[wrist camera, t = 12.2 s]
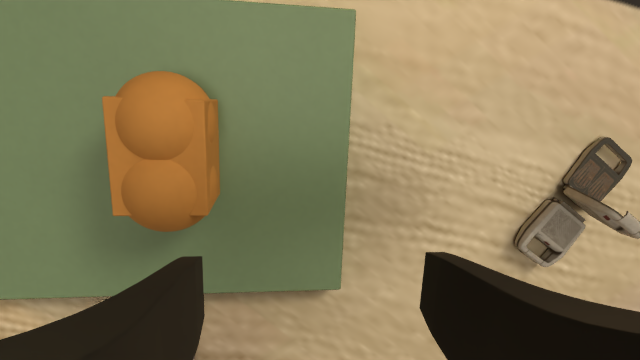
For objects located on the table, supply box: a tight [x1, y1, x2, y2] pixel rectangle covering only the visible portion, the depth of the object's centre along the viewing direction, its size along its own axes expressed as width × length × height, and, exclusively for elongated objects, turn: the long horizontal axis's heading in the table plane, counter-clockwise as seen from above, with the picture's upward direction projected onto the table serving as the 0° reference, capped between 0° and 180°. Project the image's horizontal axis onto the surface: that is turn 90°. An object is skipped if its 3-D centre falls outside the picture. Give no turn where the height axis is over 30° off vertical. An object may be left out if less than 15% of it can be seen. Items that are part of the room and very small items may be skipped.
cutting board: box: [0, 0, 356, 300], centre depth 18 cm, size 15×20×1 cm
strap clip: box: [515, 137, 640, 267], centre depth 21 cm, size 8×3×4 cm, turn 143°
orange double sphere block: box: [102, 71, 220, 232], centre depth 16 cm, size 7×4×4 cm, turn 178°
